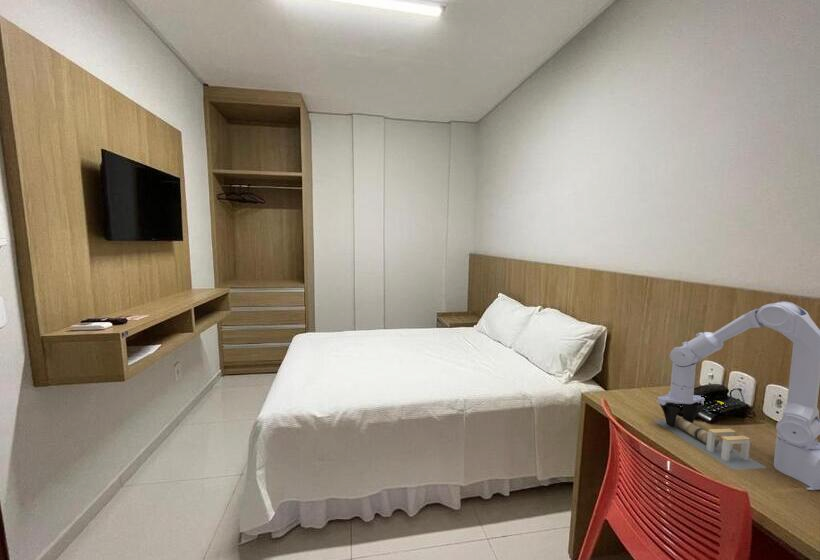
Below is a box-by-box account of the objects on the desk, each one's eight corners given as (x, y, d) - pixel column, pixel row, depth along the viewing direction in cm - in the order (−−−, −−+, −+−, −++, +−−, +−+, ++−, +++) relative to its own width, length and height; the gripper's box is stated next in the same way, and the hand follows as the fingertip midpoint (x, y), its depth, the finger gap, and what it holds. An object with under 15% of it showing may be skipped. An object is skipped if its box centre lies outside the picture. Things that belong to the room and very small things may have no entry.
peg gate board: (767, 470, 86) (770, 445, 85) (733, 472, 85) (735, 447, 84) (679, 421, 110) (681, 402, 110) (652, 422, 109) (653, 402, 109)
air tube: (718, 446, 95) (719, 435, 94) (708, 447, 94) (709, 436, 94) (674, 422, 109) (675, 412, 108) (665, 422, 108) (666, 412, 108)
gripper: (691, 378, 109) (687, 418, 110) (650, 379, 107) (647, 419, 109) (712, 387, 102) (708, 429, 103) (669, 388, 100) (666, 431, 102)
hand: (678, 425), depth 105 cm, fingers open, 5 cm apart
